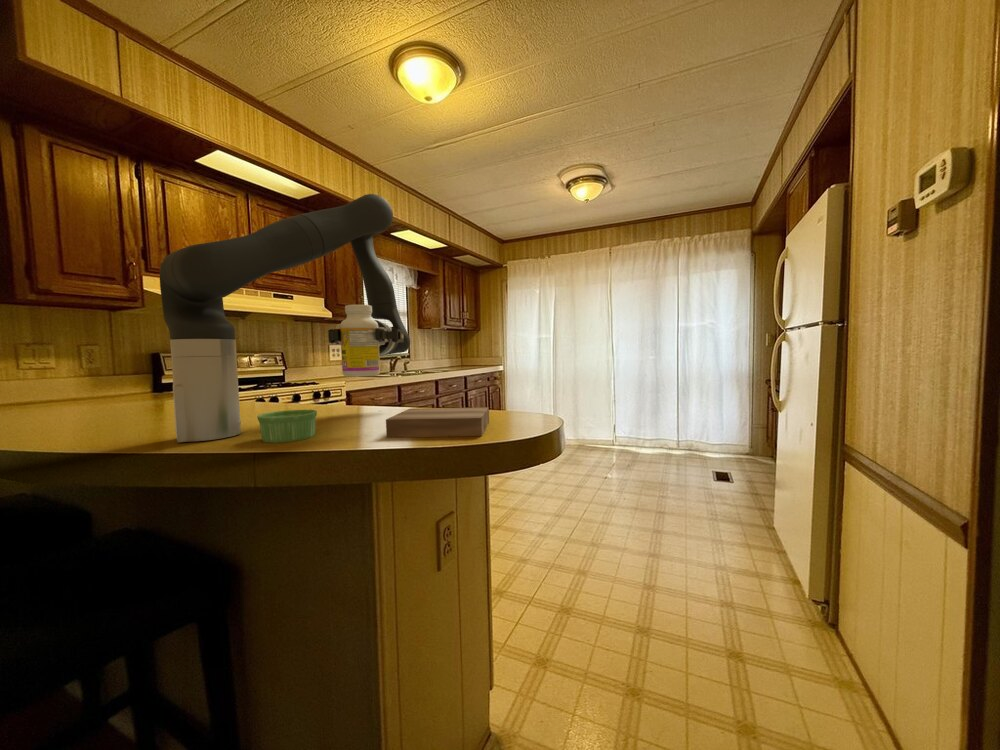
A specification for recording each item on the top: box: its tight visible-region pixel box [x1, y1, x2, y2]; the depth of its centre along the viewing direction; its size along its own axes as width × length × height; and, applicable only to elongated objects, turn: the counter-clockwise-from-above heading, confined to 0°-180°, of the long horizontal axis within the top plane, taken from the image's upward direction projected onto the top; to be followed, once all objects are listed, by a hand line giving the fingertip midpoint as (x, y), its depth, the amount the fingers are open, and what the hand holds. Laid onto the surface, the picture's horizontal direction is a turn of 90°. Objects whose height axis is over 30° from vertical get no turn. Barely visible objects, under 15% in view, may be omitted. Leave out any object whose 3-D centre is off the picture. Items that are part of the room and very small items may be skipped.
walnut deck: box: [385, 406, 490, 438], centre depth 71 cm, size 13×16×3 cm
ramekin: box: [257, 409, 318, 444], centre depth 67 cm, size 9×9×4 cm
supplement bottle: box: [339, 304, 381, 378], centre depth 72 cm, size 7×7×13 cm
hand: (356, 334), depth 70 cm, fingers closed on supplement bottle, 6 cm apart
